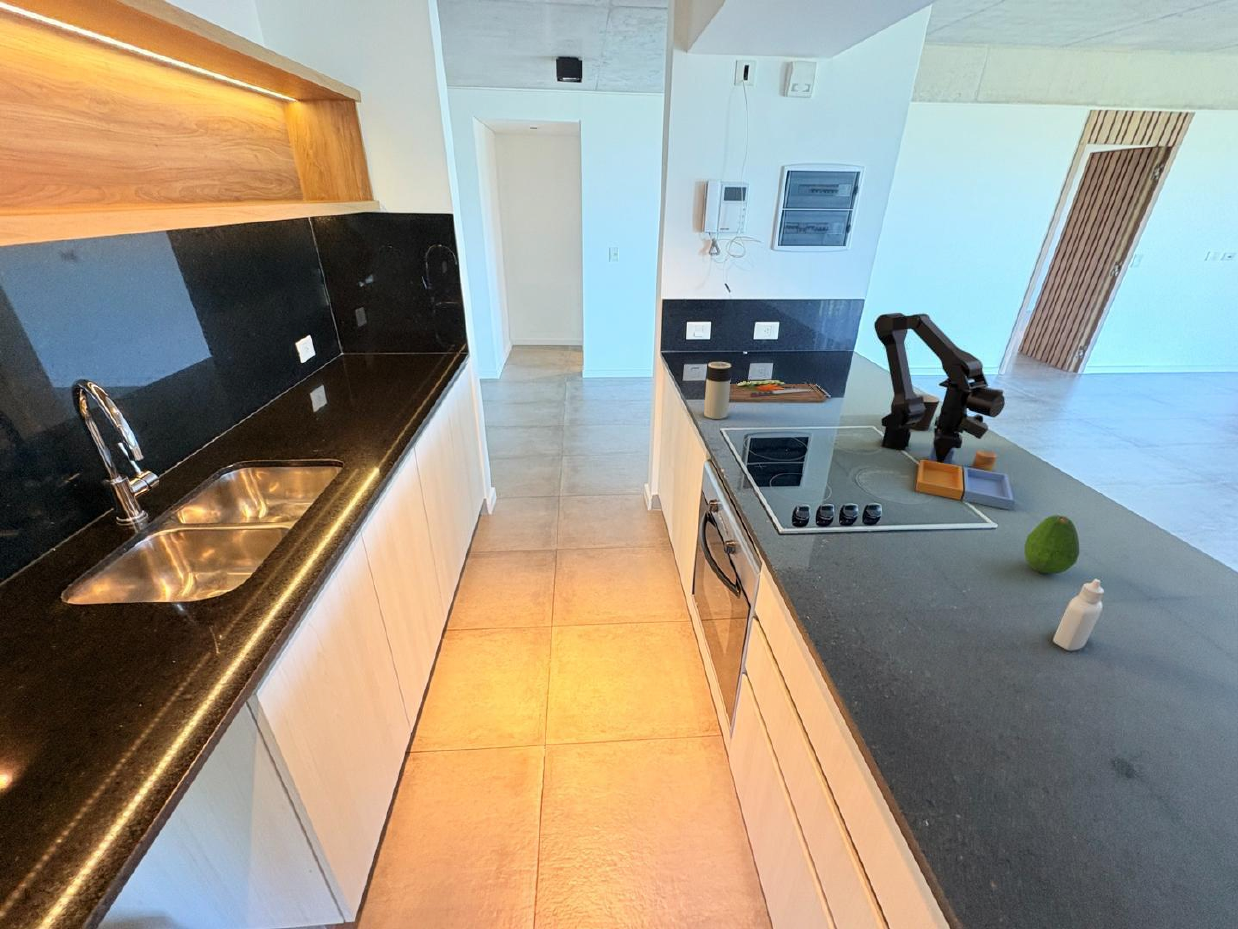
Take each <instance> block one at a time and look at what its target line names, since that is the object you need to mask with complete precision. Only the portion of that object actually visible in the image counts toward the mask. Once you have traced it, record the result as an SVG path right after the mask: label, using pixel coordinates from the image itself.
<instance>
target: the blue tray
mask: <svg viewBox="0 0 1238 929" xmlns="http://www.w3.org/2000/svg"><path fill="white" fill-rule="evenodd" d="M962 477H963V493H962V496H961V500H962V501H964V502H969V503H973V504H978V505H984V506H989V507H992V508H993V507H994V508H998V509H1003V510H1008V511H1011V510H1012V507H1013V504H1014V501H1015V500H1014V496H1013V492H1012V488H1011V483H1010V479H1009V474H1005V473H1001V472H995V471H992V472H990V471H984V470H979V469H973V468H972V467H968V466H967V467H966V466H963V467H962Z"/></svg>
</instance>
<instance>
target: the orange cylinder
mask: <svg viewBox="0 0 1238 929" xmlns="http://www.w3.org/2000/svg"><path fill="white" fill-rule="evenodd" d="M997 457H998V455H997V454H996V453H995V452H992V451H989V450H983V449H982V450H981V449H980V450H976V452H975V456H974V460H973V462H972V464H971V468H973V469H979V470H984V471H990V472H993V470H994V466H995V463H996V460H997Z"/></svg>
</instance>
